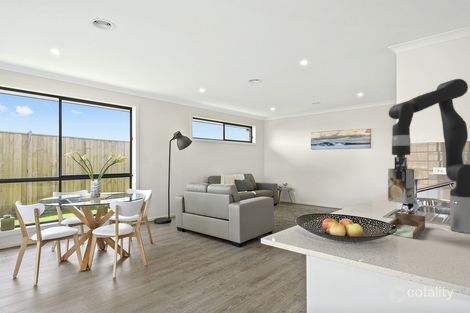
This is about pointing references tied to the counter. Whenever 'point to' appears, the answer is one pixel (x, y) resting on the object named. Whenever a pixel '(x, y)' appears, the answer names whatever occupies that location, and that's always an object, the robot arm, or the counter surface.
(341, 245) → the counter surface
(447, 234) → the counter surface
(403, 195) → the coffee box
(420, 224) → the rack bay
